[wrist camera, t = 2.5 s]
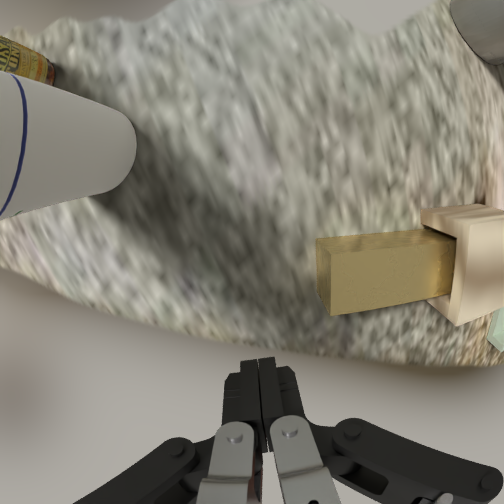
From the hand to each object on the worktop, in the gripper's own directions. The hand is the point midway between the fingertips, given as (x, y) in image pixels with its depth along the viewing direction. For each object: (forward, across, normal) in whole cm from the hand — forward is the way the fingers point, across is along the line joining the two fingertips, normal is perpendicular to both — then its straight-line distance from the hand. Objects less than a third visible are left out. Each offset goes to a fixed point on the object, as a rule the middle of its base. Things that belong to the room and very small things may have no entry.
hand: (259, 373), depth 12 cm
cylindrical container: (+11, +11, -13) cm, 20 cm away
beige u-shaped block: (+11, -19, 0) cm, 22 cm away
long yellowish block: (+9, -14, 0) cm, 17 cm away
